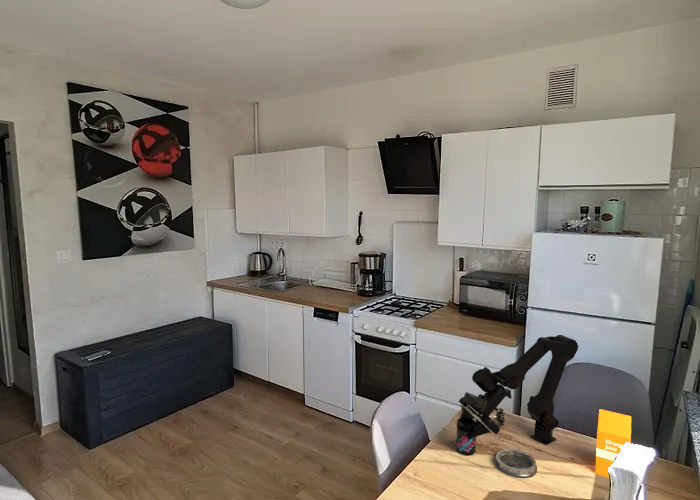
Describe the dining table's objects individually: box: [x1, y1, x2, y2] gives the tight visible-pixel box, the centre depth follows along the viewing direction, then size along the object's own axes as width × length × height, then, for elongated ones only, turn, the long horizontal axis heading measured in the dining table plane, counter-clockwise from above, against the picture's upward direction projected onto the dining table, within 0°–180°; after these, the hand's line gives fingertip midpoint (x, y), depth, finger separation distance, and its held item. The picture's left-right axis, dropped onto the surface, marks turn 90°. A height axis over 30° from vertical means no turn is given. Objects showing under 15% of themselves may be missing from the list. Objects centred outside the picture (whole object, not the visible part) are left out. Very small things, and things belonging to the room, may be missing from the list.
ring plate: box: [494, 448, 538, 479], centre depth 139 cm, size 13×13×2 cm
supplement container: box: [455, 418, 477, 456], centre depth 148 cm, size 7×7×10 cm
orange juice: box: [594, 408, 632, 479], centre depth 135 cm, size 8×9×20 cm
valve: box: [472, 407, 506, 427], centre depth 167 cm, size 7×7×12 cm
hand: (462, 433), depth 147 cm, fingers closed on supplement container, 7 cm apart
